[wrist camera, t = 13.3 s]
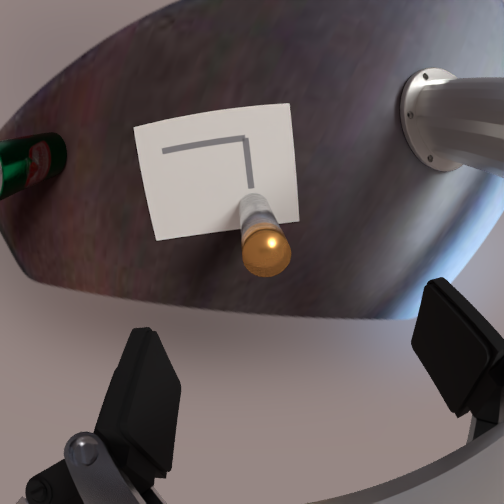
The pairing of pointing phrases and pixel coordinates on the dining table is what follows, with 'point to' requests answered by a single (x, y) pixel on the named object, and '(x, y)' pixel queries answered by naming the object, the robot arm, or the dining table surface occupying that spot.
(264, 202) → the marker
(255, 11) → the dining table surface
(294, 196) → the paper
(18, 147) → the soda can
